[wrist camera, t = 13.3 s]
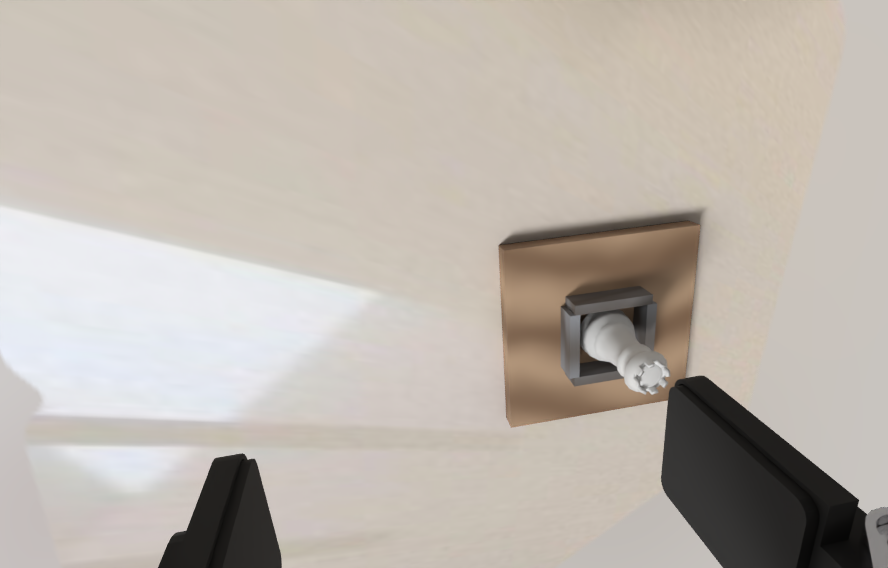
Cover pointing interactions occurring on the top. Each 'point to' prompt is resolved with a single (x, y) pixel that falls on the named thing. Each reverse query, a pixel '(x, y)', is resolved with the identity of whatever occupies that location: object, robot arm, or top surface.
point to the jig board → (590, 291)
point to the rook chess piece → (623, 350)
